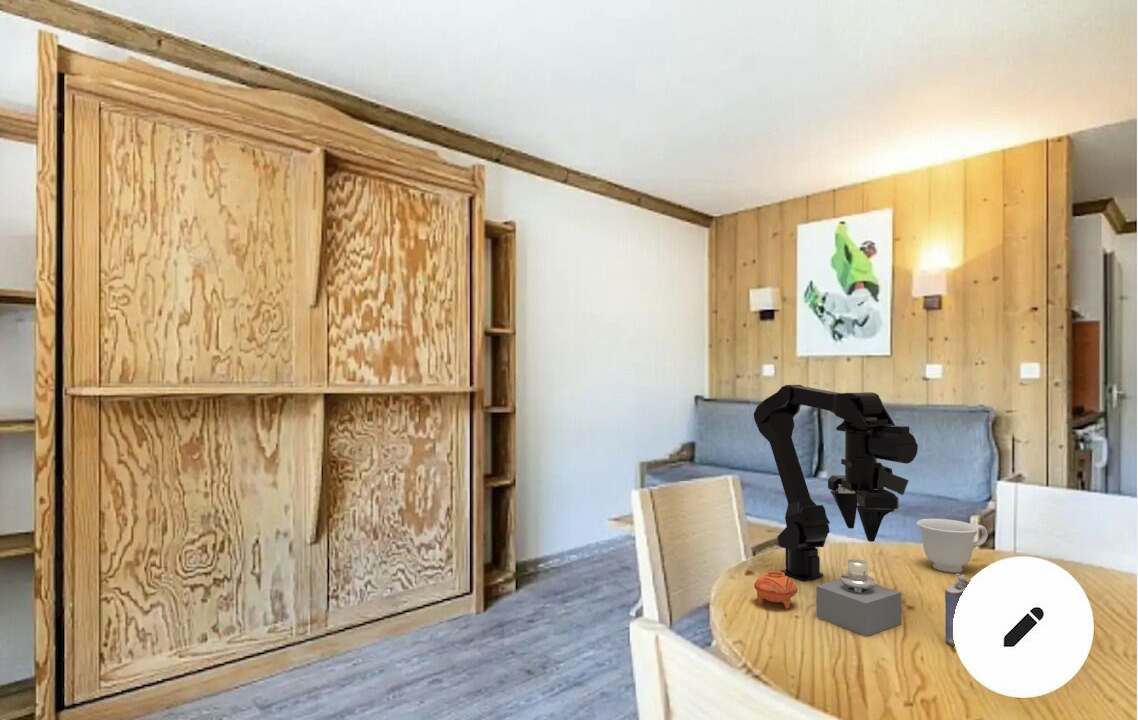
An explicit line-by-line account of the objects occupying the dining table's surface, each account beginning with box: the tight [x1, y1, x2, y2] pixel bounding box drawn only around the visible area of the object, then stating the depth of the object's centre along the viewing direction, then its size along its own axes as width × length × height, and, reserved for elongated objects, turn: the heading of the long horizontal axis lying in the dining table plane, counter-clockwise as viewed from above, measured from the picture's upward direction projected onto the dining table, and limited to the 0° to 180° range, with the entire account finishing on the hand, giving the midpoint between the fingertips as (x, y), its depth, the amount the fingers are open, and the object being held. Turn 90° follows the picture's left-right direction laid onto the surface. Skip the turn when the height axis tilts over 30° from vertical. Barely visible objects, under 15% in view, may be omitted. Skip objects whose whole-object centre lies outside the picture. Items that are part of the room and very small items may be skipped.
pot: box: [753, 570, 798, 610], centre depth 120 cm, size 8×8×7 cm
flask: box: [944, 573, 971, 648], centre depth 104 cm, size 9×3×11 cm, turn 121°
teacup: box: [916, 518, 988, 574], centre depth 141 cm, size 12×15×10 cm
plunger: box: [840, 558, 876, 593], centre depth 112 cm, size 7×7×10 cm
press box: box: [815, 578, 902, 637], centre depth 112 cm, size 10×10×6 cm
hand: (860, 534), depth 123 cm, fingers open, 9 cm apart
